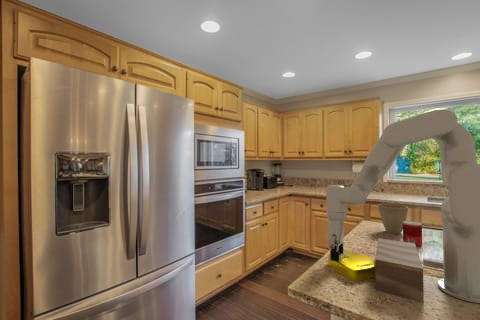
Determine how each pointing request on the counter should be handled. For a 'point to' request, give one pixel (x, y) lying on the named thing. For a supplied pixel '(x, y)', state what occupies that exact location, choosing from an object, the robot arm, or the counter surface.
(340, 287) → the counter surface
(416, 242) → the canned food
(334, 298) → the counter surface
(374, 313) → the counter surface
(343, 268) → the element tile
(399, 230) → the plant pot
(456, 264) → the robot arm
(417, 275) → the brown wooden block
